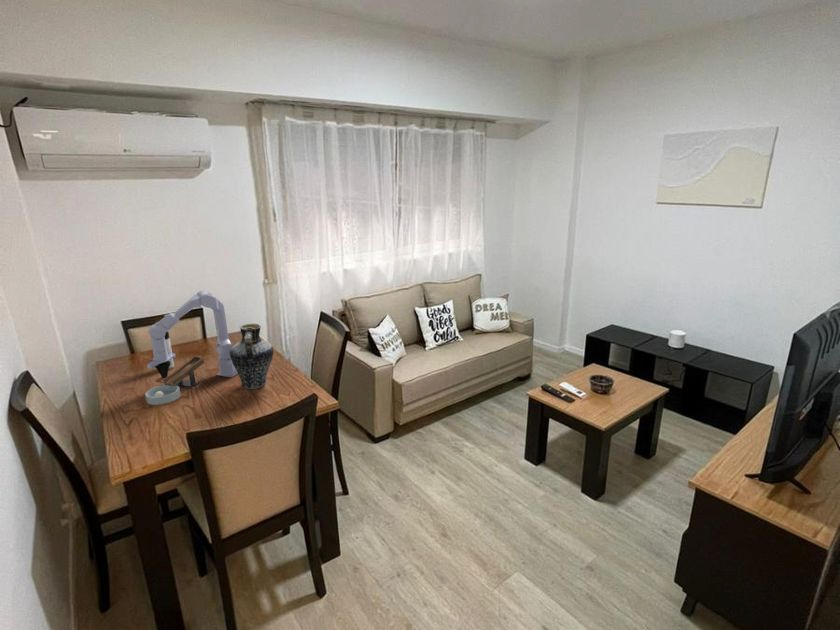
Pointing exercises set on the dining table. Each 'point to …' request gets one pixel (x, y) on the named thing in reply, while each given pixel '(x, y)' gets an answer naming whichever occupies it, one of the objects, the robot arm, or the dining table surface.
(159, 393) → the ball
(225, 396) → the dining table surface
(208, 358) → the dining table surface
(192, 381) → the stand
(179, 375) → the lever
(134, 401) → the dining table surface
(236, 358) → the jug
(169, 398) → the bowl
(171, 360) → the travel mug
